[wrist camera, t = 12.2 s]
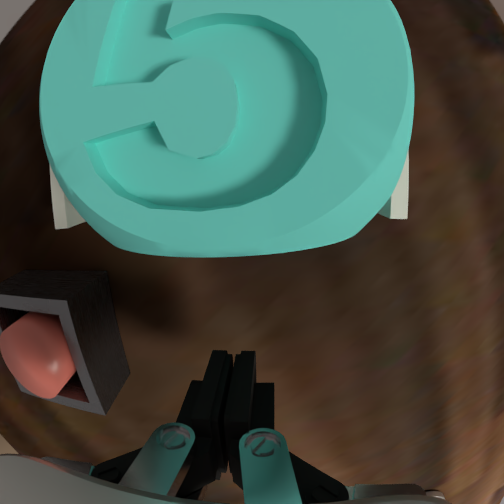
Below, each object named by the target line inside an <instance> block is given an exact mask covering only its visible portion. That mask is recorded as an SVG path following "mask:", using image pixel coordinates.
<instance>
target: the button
mask: <svg viewBox="0 0 504 504" xmlns="http://www.w3.org/2000/svg"><path fill="white" fill-rule="evenodd" d="M0 349H1V353H2V356H3V359H4V361H5V363H6V365H7V367H8V368H9V370H10V371H11V373H12V374H13V375H14V377H15V378H16V379H17V380H18V381H19V382H20V383H21V384H22V385H23V386H24V387H25V388H26V389H27V390H29V391H30V392H32V393H33V394H35V395H37V396H39V397H42V398H47V399H50V398H54V397H55V396H56V395H57V394H58V393H59V392H60V390H61V389H62V388H63V387H64V385H65V384H66V383H67V382H68V380H69V379H70V378H71V377H72V376H73V374H74V373H75V372H76V371H77V370H76V367H75V364H74V362H73V359H72V356H71V353H70V350H69V347H68V344H67V341H66V338H65V335H64V331H63V328H62V325H61V321H60V318H59V315H56V314H47V313H39V312H31V311H29V312H28V313H27V314H25V315H24V316H23V317H21V318H20V319H19V320H17V321H16V322H14V323H13V324H12V325H11V326H9V327H8V328H7V329H5V330H4V331H3V332H2V333H1V336H0Z"/></svg>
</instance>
